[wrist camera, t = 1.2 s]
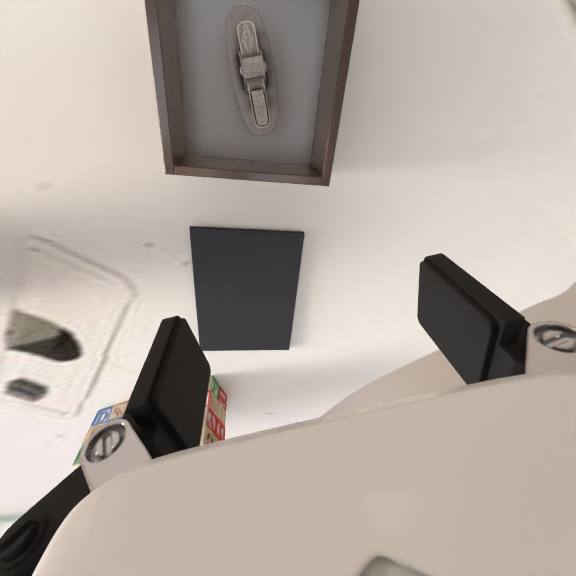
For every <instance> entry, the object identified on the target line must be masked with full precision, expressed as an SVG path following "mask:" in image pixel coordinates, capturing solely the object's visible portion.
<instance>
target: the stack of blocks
mask: <svg viewBox="0 0 576 576" xmlns="http://www.w3.org/2000/svg"><path fill="white" fill-rule="evenodd" d="M128 402H129V401H128ZM128 402H125V403H122V404H118V405H115V406H112V407H108V408H105V409H102V410H99V411H98V412H97V414H96V416H95V418H94V420H93V422H92V424H91V427H90V428H89V430H88V432H87V434H86V436H85V438H84V440H83V442H82V446H81V448H80V450H79V452H78V455H77V457H76V459H75V461H74V463H73V465H72V466H74V467H75V468H78V467H79V466H80V465H81V464H80V459H79V455H80V452H81V449H82V447H83V445H84V443H85V442H86V440H87V439H88V438H89V437H90V435H91V434H92V433H93V432H95V431H96V430H97V429H98V428H99V427H101V426H102V425H104V424H105V423H107V422H110V421H112V420H115V419H122V416H123V414H124V412H125V409H126V407H127V404H128ZM226 402H227V396H226V395H225V393H224V392H223V390H222V389H221V387H220V386H219V385H218V383H217V382H216V380H215V379H214V377H213V376H210V380H209V387H208V393H207V400H206V407H205V414H204V420H203V427H202V434H201V441H200V446H201V445H205V444H209V443H213V442H217V441H221V440H225V416H226Z"/></svg>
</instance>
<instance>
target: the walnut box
mask: <svg viewBox="0 0 576 576" xmlns="http://www.w3.org/2000/svg"><path fill="white" fill-rule="evenodd" d="M358 6H359V0H331V5H330V13H329V21H328V29H327V37H326V44H325V52H324V60H323V68H322V76H321V84H320V92H319V100H318V108H317V116H316V124H315V131H314V139H313V147H312V155H311V163H310V165H301V164H289V163H277V162H266V161H254V160H242V159H230V158H218V157H206V156H194V155H187V153H186V141H185V128H184V116H183V104H182V91H181V79H180V66H179V54H178V41H177V29H176V16H175V4H174V0H145V8H146V16H147V24H148V33H149V41H150V50H151V58H152V66H153V75H154V83H155V91H156V100H157V108H158V117H159V125H160V133H161V142H162V150H163V158H164V167H165V174H171V175H174V174H175V175H185V176H199V177H212V178H226V179H239V180H252V181H266V182H279V183H293V184H306V185H321V186H329V183H330V177H331V171H332V165H333V159H334V152H335V146H336V140H337V134H338V128H339V122H340V116H341V110H342V104H343V97H344V91H345V85H346V79H347V73H348V67H349V61H350V55H351V49H352V43H353V36H354V30H355V24H356V18H357V12H358Z"/></svg>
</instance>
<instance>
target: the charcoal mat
mask: <svg viewBox="0 0 576 576" xmlns="http://www.w3.org/2000/svg"><path fill="white" fill-rule="evenodd" d="M190 239H191V250H192V262H193V273H194V285H195V297H196V308H197V320H198V332H199V343H200V348H201V349H202V351H226V350H289V346H290V339H291V331H292V323H293V316H294V308H295V301H296V293H297V285H298V278H299V270H300V263H301V255H302V247H303V240H304V232H292V231H272V230H252V229H232V228H212V227H190Z"/></svg>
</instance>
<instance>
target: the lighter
mask: <svg viewBox="0 0 576 576" xmlns="http://www.w3.org/2000/svg"><path fill="white" fill-rule="evenodd" d="M225 28H226V43H227V56H228V62H229V69H230V75H231V81H232V85H233V88H234V92H235V96H236V99H237V103H238V106H239V109H240V111H241V114H242V116H243V119H244V121H245V124H246V126H247V128H248V130H249V131H250V132H252V133H253V134H255V135H258V136H264V135H267V134H269V133H270V132H272V131H273V130H274V128H275V126H276V123H277V88H276V77H275V70H274V65H273V60H272V55H271V50H270V46H269V42H268V39H267V36H266V33H265V29H264V26H263V23H262V20H261V18H260V16H259V14H258V12H257V11H256V10H255V9H254V8H252V7H250V6H247V5H239V6H237V7H234V8H233V9H232V10H231V11H230V12H229V14H228V16H227V18H226V25H225Z"/></svg>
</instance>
